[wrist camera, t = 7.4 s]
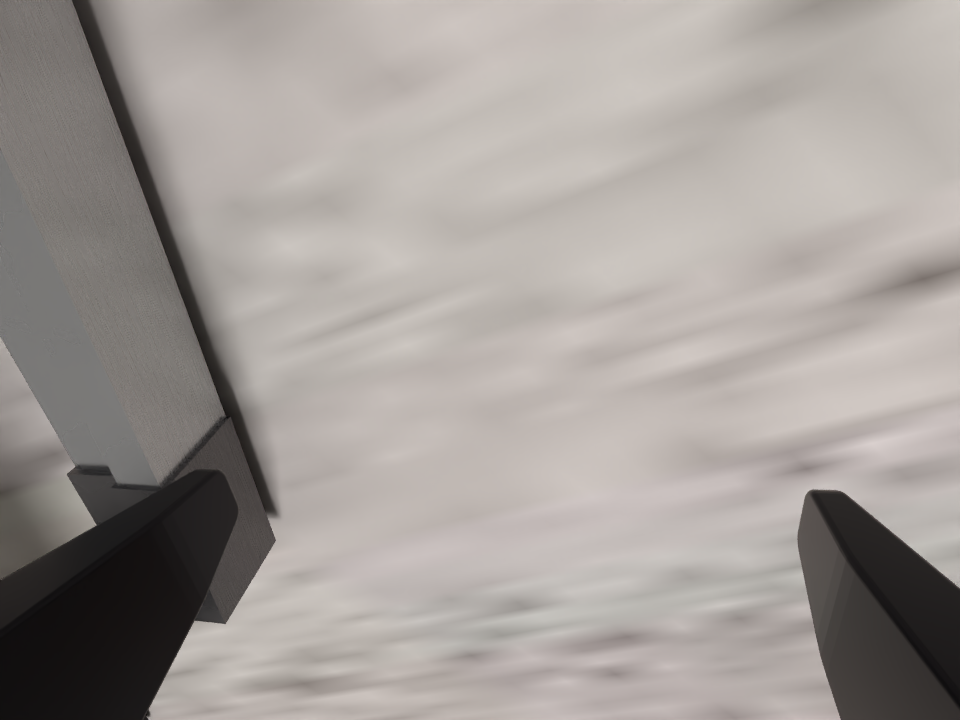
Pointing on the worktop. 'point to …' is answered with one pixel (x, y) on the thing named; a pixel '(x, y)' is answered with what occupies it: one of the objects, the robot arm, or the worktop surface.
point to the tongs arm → (109, 283)
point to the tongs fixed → (56, 402)
